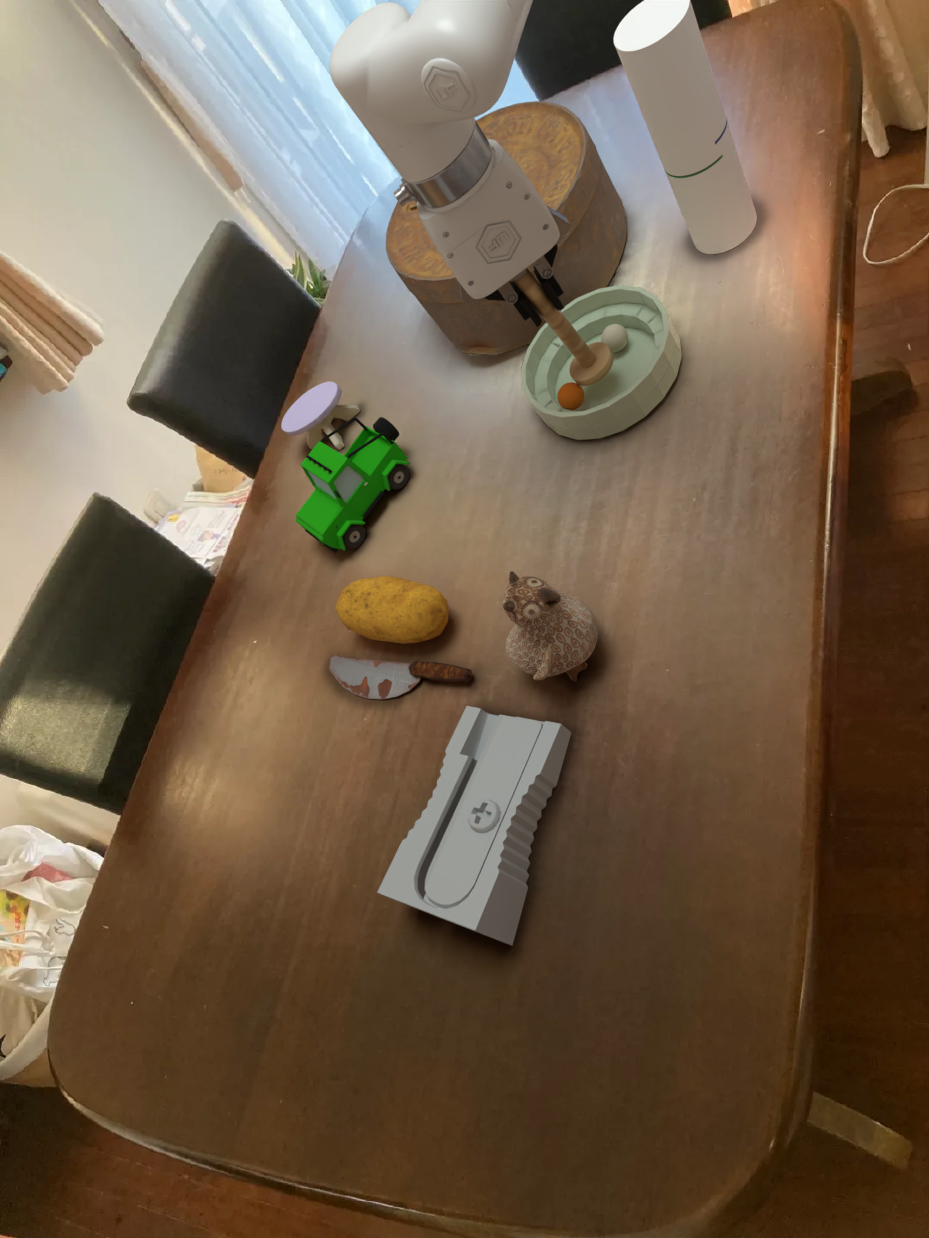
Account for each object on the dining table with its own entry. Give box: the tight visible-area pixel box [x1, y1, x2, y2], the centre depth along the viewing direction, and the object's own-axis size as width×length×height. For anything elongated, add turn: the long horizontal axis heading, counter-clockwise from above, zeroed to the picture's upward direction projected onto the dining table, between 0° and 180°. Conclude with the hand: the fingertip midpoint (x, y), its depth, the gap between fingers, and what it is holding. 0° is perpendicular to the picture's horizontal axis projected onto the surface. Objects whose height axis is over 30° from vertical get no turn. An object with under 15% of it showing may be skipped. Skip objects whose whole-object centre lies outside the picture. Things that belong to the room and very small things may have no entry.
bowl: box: [520, 284, 683, 441], centre depth 92 cm, size 17×17×5 cm
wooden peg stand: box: [512, 268, 614, 386], centre depth 85 cm, size 5×5×15 cm
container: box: [385, 100, 628, 356], centre depth 103 cm, size 28×28×15 cm
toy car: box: [295, 416, 411, 554], centre depth 103 cm, size 8×17×10 cm, turn 136°
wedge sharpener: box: [376, 705, 572, 947], centre depth 76 cm, size 11×20×7 cm, turn 159°
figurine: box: [502, 570, 599, 683], centre depth 76 cm, size 9×10×15 cm
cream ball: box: [601, 324, 628, 352], centre depth 93 cm, size 3×3×3 cm
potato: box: [335, 575, 450, 645], centre depth 92 cm, size 7×14×7 cm, turn 68°
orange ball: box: [557, 382, 585, 410], centre depth 91 cm, size 3×3×3 cm
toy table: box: [280, 381, 361, 451], centre depth 114 cm, size 10×9×6 cm
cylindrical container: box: [613, 0, 758, 255], centre depth 84 cm, size 7×7×25 cm
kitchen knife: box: [328, 653, 474, 700], centre depth 92 cm, size 21×2×5 cm
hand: (546, 309), depth 84 cm, fingers closed on wooden peg stand
